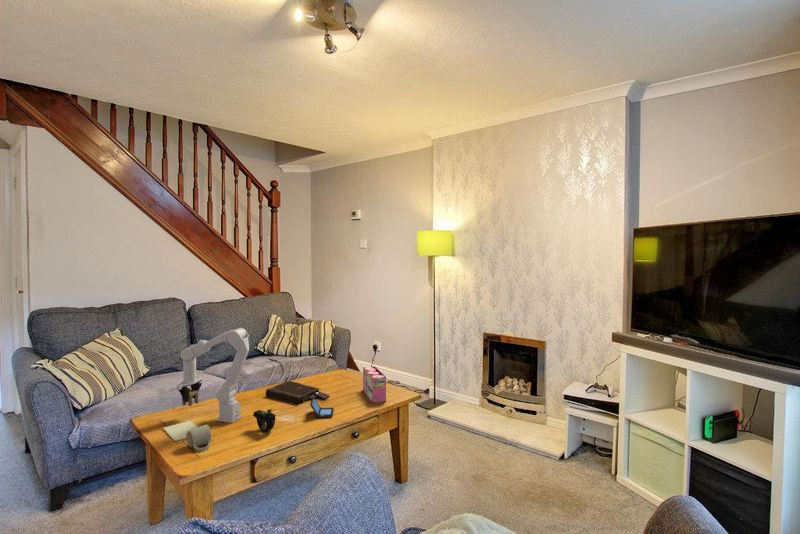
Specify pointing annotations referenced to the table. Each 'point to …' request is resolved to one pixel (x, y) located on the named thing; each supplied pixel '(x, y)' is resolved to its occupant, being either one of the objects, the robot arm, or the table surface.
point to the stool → (191, 393)
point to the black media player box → (291, 392)
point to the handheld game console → (321, 410)
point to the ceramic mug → (199, 437)
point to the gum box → (374, 384)
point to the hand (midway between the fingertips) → (190, 400)
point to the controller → (265, 419)
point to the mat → (179, 430)
